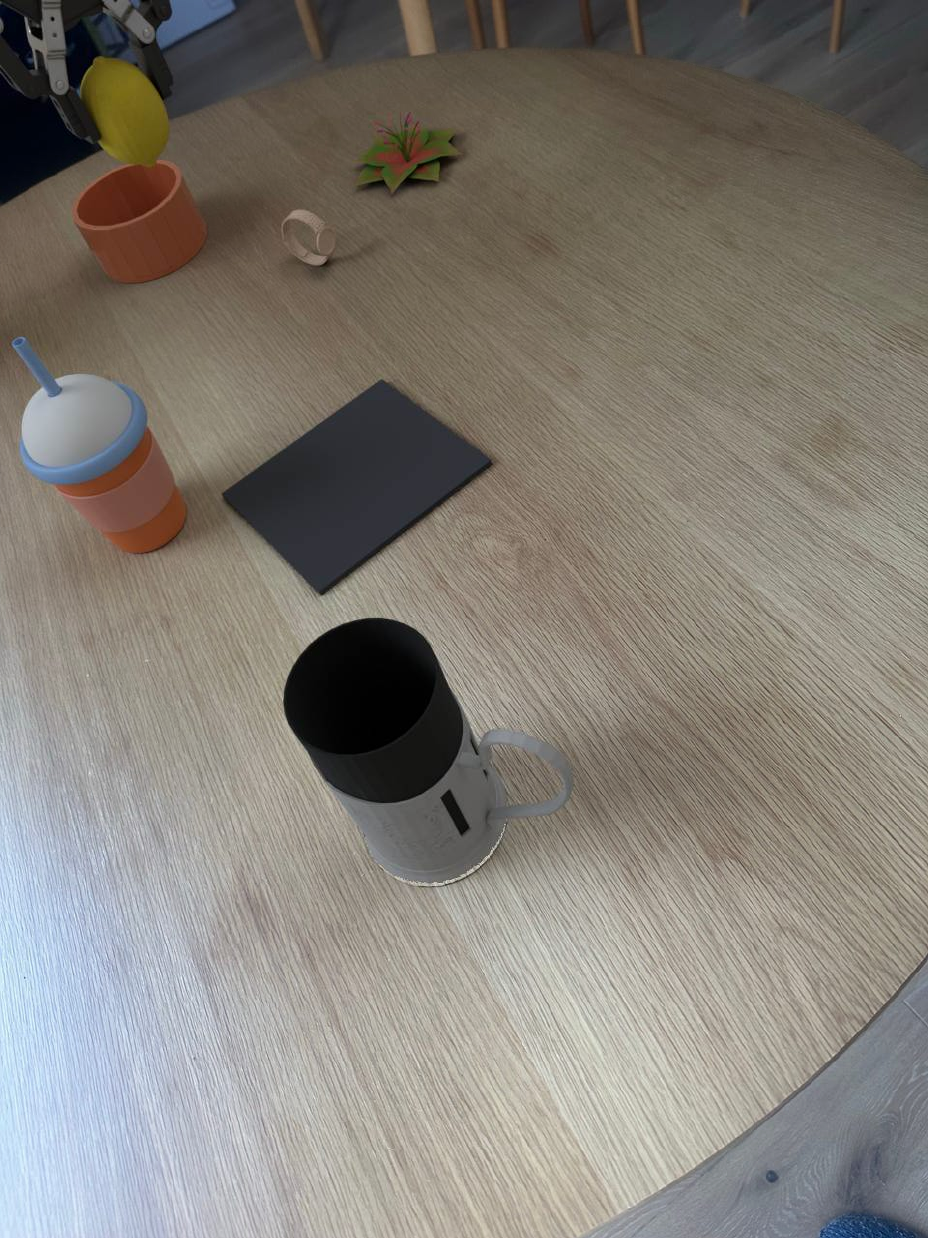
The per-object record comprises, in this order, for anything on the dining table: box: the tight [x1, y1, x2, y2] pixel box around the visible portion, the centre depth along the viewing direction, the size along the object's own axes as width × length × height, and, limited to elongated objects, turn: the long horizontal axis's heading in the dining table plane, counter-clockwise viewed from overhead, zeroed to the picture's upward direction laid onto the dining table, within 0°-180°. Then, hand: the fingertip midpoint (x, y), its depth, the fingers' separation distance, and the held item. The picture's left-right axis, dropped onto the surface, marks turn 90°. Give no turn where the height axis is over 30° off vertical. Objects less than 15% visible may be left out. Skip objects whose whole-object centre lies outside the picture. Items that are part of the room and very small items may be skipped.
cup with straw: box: [11, 336, 187, 554], centre depth 69 cm, size 9×9×18 cm
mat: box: [221, 378, 493, 596], centre depth 74 cm, size 16×14×1 cm
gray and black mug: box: [282, 617, 575, 884], centre depth 51 cm, size 9×14×15 cm, turn 67°
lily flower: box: [352, 110, 463, 194], centre depth 96 cm, size 12×12×5 cm
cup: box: [70, 158, 208, 284], centre depth 97 cm, size 11×11×6 cm
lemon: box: [79, 55, 170, 167], centre depth 71 cm, size 6×6×8 cm
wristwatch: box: [280, 209, 337, 267], centre depth 90 cm, size 3×5×5 cm, turn 60°
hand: (127, 116), depth 71 cm, fingers closed on lemon, 5 cm apart
